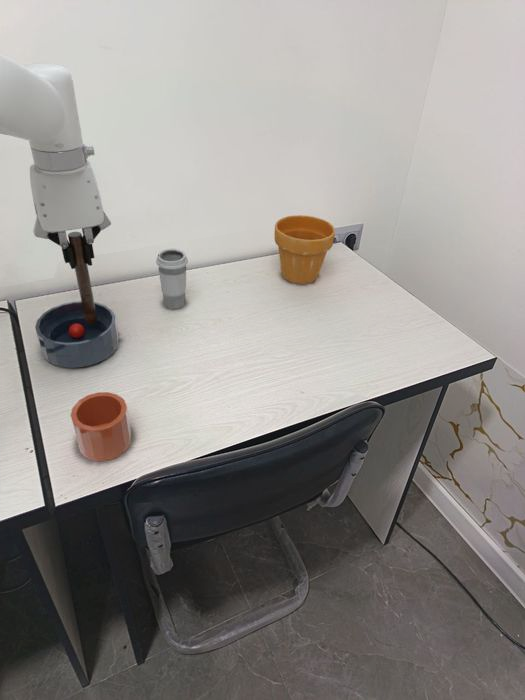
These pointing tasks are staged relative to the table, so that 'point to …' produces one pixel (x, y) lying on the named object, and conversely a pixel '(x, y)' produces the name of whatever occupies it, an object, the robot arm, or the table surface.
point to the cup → (172, 277)
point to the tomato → (76, 330)
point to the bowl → (83, 350)
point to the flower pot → (303, 246)
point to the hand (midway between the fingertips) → (80, 262)
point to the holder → (101, 426)
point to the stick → (83, 277)
